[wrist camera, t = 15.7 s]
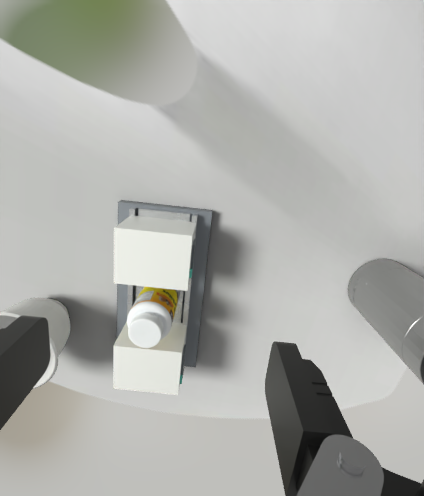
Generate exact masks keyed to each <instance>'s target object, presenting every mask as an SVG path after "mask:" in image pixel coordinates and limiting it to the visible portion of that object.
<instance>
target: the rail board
mask: <svg viewBox="0 0 424 496" xmlns="http://www.w3.org/2000/svg"><path fill="white" fill-rule="evenodd" d="M131 207H137V216H138V209H139V208H146V209H155V210H164V211H174V212H183V213H190V222H192V214H198V218H197V228H196V246H195V256H194V267H193V273H192V282H191V293H190V304H189V314H188V325H187V336H186V352H185V363H184V366H189V367H196V358H197V348H198V339H199V330H200V321H201V311H202V302H203V293H204V284H205V274H206V265H207V256H208V247H209V237H210V228H211V219H212V210H207V209H198V208H189V207H179V206H170V205H161V204H152V203H143V202H133V201H124V200H121V201H119V202H118V224H120V223H121V222H122V221H124V220H125V219H126V218H128V217H129V209H130V208H131ZM135 301H136V286H135ZM135 301H134V303H135ZM184 302H185V291H184V293H183V305H182V316H181V323H183V313H184ZM127 304H128V285H125V284H117V338H118V336H119V335H120V333H121V331H122V329H123V327H124V325H125V323H126V321H127Z"/></svg>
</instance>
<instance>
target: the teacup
mask: <svg viewBox="0 0 424 496" xmlns="http://www.w3.org/2000/svg"><path fill="white" fill-rule="evenodd" d="M22 315H25V316H35V317H45V318H46V319H47V320H48V326H49V339H50V353H51V356H50V362H49V365H48V368H47V370H46V372H45V373H44V375H43V376H42V377H41V379H40V380H39V381H38V382H37V384H36V385H35V386H34V387H33V388H36V387H39V386H41V385H43V384H45V383H46V382H48V381H49V380H50V379H51V378H52V377H53V375H54V374H55V372H56V370H57V366H58V357H59V355H60V353H61V351H62V350H63V348H64V346H65V344H66V342H67V340H68V338H69V334H70V329H71V327H70V320H69V314H68V311H67V309H66V307H65V306H64V305H63V304H62V303H60V302H59V301H57V300H54V299H44V298H30V299H27V300H24V301H21V302H19V303H17V304H15V305H13V306H11V307H9V308H7V309H6V310H4V311H2V312H0V329H2V328H6V327H8V326H9V325H10V324H11V323H12V322H14V321H15V320H16V319H17V318H18V317H20V316H22Z"/></svg>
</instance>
